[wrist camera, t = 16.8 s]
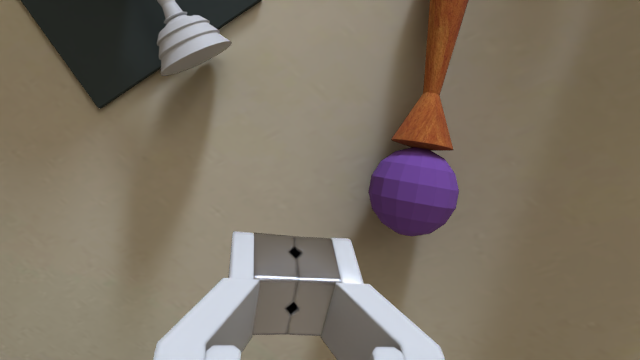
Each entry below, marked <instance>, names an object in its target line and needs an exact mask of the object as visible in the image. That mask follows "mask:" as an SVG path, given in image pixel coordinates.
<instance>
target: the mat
mask: <svg viewBox="0 0 640 360" xmlns="http://www.w3.org/2000/svg"><path fill="white" fill-rule="evenodd" d="M21 1H22V3H23V4H24V6H25V7H26V8H27V10H28V11H29V12H30V14H31V15H32V17H33V18H34V19H35V21H36V22H37V24H38V25H39V26H40V28H41V29H42V31H43V32H44V33H45V35H46V36H47V37H48V39H49V40H50V42H51V43H52V44H53V46H54V47H55V49H56V50H57V51H58V53H59V54H60V56H61V57H62V58H63V60H64V61H65V62H66V64H67V65H68V67H69V68H70V69H71V71H72V72H73V74H74V75H75V76H76V78H77V79H78V80H79V82H80V83H81V85H82V86H83V87H84V89H85V90H86V92H87V93H88V94H89V96H90V97H91V99H92V100H93V101H94V103H95V104H96V105H97V107H98V108H102V107H104V106H105V105H107V104H108V103H110V102H111V101H113V100H114V99H116V98H117V97H119V96H120V95H122V94H123V93H125V92H126V91H128V90H129V89H131V88H132V87H134V86H135V85H136V84H138V83H139V82H141V81H142V80H144V79H145V78H147V77H148V76H150V75H151V74H153V73H154V72H156V71H157V70H159V69H160V68H161V60H160V59H159V46H157V40H158V35H159V33H160V31H161V30H162V29H163V28H165V26H166V24H165V23H164V21H165V19H166V18H165V15H164V12H163V8H162V6H161V5H160V4H159V3H158V1H157V0H21ZM260 1H261V0H175V2H176V3H177V5H178V6H179V7H180V8H181V10H182V11H183V12H187V16H193V15H199V16H201V17H203V18H205V19H207V20H209V21H210V23H209V24H210V25H212V26H213V27H215V28H216V29H220V28H221V27H223V26H224V25H226V24H227V23H229V22H230V21H232V20H233V19H235V18H236V17H237V16H239V15H240V14H242V13H243V12H245V11H246V10H248V9H249V8H251V7H252V6H254V5H255V4H257V3H258V2H260Z"/></svg>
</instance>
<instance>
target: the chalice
mask: <svg viewBox="0 0 640 360" xmlns="http://www.w3.org/2000/svg"><path fill="white" fill-rule="evenodd" d="M157 1H158V3H159V4H160V5H161V6H162V8H163V12H164V15H165V18H166V19H165V21H164V23H165V24H166V26H165V28H163V29H162V30H161V31H160V33H159V35H158V40H157V46H159V59H160V60H161V75H162V76H166V75H172V74H175V73H178V72H182V71H184V70H187V69H189V68H192V67H194V66H196V65H199V64H201V63H203V62H205V61H207V60H209V59H211V58H213V57H214V56H216V55H218V54H220V53H221V52H223V51H224V50H226V49H227V48H228V47H229V46H230V45H231V43H232V42H231V41H229V40H228V39H226V38H225V37H223V36H222V35H220V34H219V33H220V31H219V30H218V29H216V28H215V27H213V26H212V25H210V24H209V23H210V21H209V20H207V19H205V18H203V17H201V16H199V15H193V16H187V12H183V11H182V10H181V8H180V7H179V6H178V5H177V3H176V2H175V0H157Z"/></svg>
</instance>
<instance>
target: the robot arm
mask: <svg viewBox="0 0 640 360" xmlns="http://www.w3.org/2000/svg"><path fill="white" fill-rule="evenodd" d="M275 334H290V335H314V336H321V338H322V340H323V341H324V343H325V344H326V345H327V347H328V348H329V349H330V351H331V352H332V353H333V355H334V356H335V357H336V359H337V360H445V358H444V355H443V353H442V350H441V348H440V346H439V345H438V344H437V343H435V342H434V341H433V340H432V339H431V338H430V337H429V336H428V335H426V334H425V333H424V332H423V331H422V330H421V329H420V328H419V327H417V326H416V325H415V324H414V323H413V322H412V321H411V320H409V319H408V318H407V317H406V316H405V315H404V314H403V313H402V312H400V311H399V310H398V309H397V308H396V307H395V306H394V305H392V304H391V303H390V302H389V301H388V300H387V299H386V298H385V297H383V296H382V295H381V294H380V293H379V292H378V291H377V290H376V289H374V288H373V287H372V286H371V285H370V284H364V283H363V279H362V276H361V273H360V269H359V266H358V262H357V259H356V256H355V252H354V249H353V245H352V242H351V240H350V239H349V238H317V237H299V236H287V235H275V234H263V233H254V234H253V233H248V232H235V231H233V235H232V245H231V255H230V266H229V276H228V278H223V279H221V280H220V281H219V282H218V283H217V284H216V285H215V286H214V287H213V288H212V289H211V290H210V291H209V292H208V293H207V294H206V295H205V296H204V297H203V298H202V299H201V300H200V301H199V302H198V303H197V304H196V305H195V306H194V307H193V308H192V309H191V310H190V311H189V312H188V313H187V314H186V315H185V316H184V317H183V318H182V319H181V320H180V321H179V322H178V323H177V324H176V325H175V326H174V327H173V328H172V329H171V330H170V331H169V332H168V333H167V334H165V335H164V336H163V337H162V338H161V339H160V340H159V341H158V342H157V345H156V349H155V354H154V358H153V360H241V353H242V351H243V350H244V348H245V347H246V345H247V344H248V342H249V341H250V339H251V338H252V335H275Z"/></svg>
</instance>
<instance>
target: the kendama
mask: <svg viewBox="0 0 640 360" xmlns="http://www.w3.org/2000/svg"><path fill="white" fill-rule="evenodd" d="M467 3H468V0H430V7H429V20H428V34H427V48H426V61H425V75H424V89H423V94H422V96H421V97H420V98H419V100H418V101H417V103H416V104H415V106H414V107H413V109H412V110H411V111H410V113H409V114H408V116H407V117H406V119H405V120H404V122H403V123H402V124H401V126H400V127H399V129H398V130H397V132H396V133H395V135H394V136H393V137H392V139H391V140H392V141H394V142H397V143H400V144H403V145H406V146H409V147H412V148H407V149H403V150H398V151H395V152H393V153H392V154H390V155H389V156H388V157H386V158H385V159H383V160H382V161H381V162H380V163H379V165H378V166H377V168H376V170H375V171H374V173H373V174H372V176H371V182H370V187H369V196H370V201H371V205H372V209H373V211H374V212H375V213H376V215H377V216H378V218H379V219H380V221H381V222H382V223H383V224H384V225H386V226H387V227H389V228H390V229H392V230H394V231H395V232H397V233H399V234H402V235H407V236H417V235H423V234H429V233H432V232H433V231H435V230H436V229H438V228H439V227H441V226H442V225H444V224H445V223H446V222H447V220H448V219H449V217H450V216H451V214H452V213H453V211H454V210H455V208H456V204H457V198H458V193H459V189H458V185H457V180H456V176H455V173H454V172H453V170H452V169H451V167H450V166H449V165H448V163H447V162H446V160H445V159H444V158H442V157H440V156H439V155H437V154H435V153H434V152H432V151H430V150H453V147H452V143H451V139H450V135H449V131H448V127H447V124H446V120H445V116H444V112H443V108H442V104H441V100H440V96H439V95H440V92H441V88H442V85H443V82H444V79H445V75H446V72H447V69H448V65H449V62H450V59H451V56H452V52H453V49H454V46H455V42H456V39H457V36H458V32H459V29H460V26H461V23H462V19H463V16H464V13H465V9H466V6H467Z"/></svg>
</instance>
